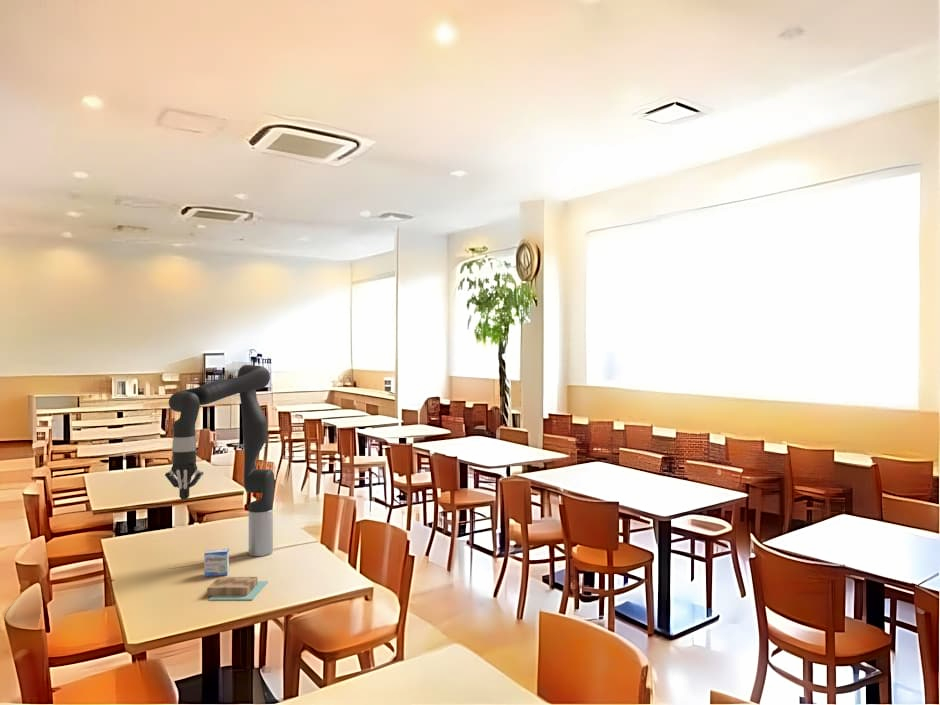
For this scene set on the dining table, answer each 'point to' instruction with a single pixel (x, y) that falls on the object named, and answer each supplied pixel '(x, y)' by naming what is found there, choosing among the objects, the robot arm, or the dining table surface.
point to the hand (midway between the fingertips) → (184, 499)
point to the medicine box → (216, 562)
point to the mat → (249, 597)
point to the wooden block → (232, 586)
